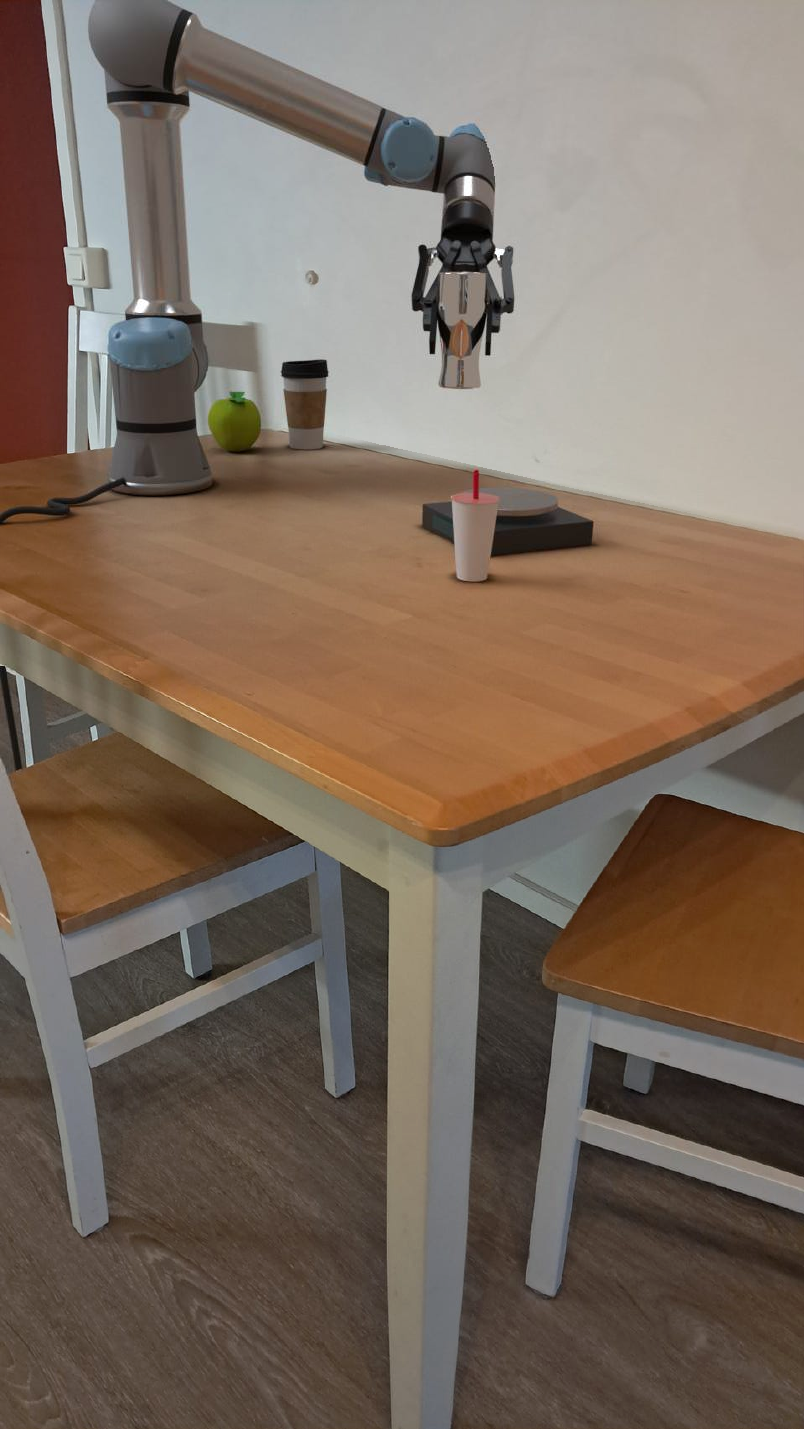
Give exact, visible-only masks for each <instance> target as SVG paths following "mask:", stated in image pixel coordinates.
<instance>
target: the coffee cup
mask: <svg viewBox="0 0 804 1429" xmlns="http://www.w3.org/2000/svg"><path fill="white" fill-rule="evenodd" d="M280 377H282V378H283V397H284V398H283V399H284V406H285V414H286V423H287V429H288V440H289V447H290V448H291V449H294V450H303V451H304V450H305V451H313V450H319V449H322V448H323V447H324V432H325V431H324V430H325V419H326V406H327V394H328V392H327V391H328V389H327V378H328V377H329V368H328V360H327V359H322V358H321V359H308V360H289V361H283V362H282V363H281V370H280Z"/></svg>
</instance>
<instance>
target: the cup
mask: <svg viewBox="0 0 804 1429" xmlns="http://www.w3.org/2000/svg"><path fill="white" fill-rule="evenodd" d="M479 488H480V470H479V469H474V470H473V472H472V489H473V493H462V494H458V493H457V494H453V495H451V496H450V500H451V502H452V511H453V528H454V543H453V544H454V558H455V559H454V560H455V571H456V572H455V574H456V578H457V579H458V580H461V581H463V582H464V581H465V582H474V583H475V582H482V581H485V580H487V579H488V574H489V568H490V563H491V549H492V543H493V536H494V529H495V523H496V516H497V509H498V502H499V500H500V498H499V497H497V496H494V495H490V494H483V493H479Z"/></svg>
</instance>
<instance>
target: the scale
mask: <svg viewBox="0 0 804 1429" xmlns="http://www.w3.org/2000/svg"><path fill="white" fill-rule="evenodd" d="M421 516H422V517H421V518H422V519H421V527H422V528H424V529H426V530H427V531H430V532H432V533H433V534H435V535H438V536H439V537H441V538H443V539H444V540H446V541H448V542H450V543H452V544H454V528H453V511H452V501H440V502H431V503H423V504H422V514H421ZM594 523H595V521H594V520H592V519H589V518H587V517H584V516H582V515H579V514H577V513H575V512H572V511H570V510H567V509H565V508H562V507H559V506H558V508H557V509H556V510H554V511H552V512H549V513H545V514H540V515H533V516H496V523H495V529H494V536H493V543H492V549H491V556H501V555H509V554H517V553H518V554H519V553H528V552H539V551H546V550H555V549H564V548H565V549H566V548H574V547H583V546H591V545H593V535H594ZM491 556H490V557H491Z"/></svg>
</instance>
